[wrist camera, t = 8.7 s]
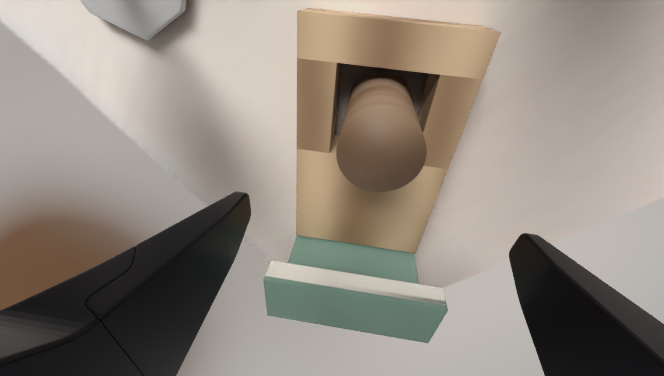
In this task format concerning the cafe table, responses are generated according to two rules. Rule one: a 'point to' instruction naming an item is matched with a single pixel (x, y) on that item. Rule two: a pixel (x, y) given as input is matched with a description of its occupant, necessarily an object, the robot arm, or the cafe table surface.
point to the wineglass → (137, 14)
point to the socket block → (434, 116)
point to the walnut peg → (380, 134)
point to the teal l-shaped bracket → (354, 290)
